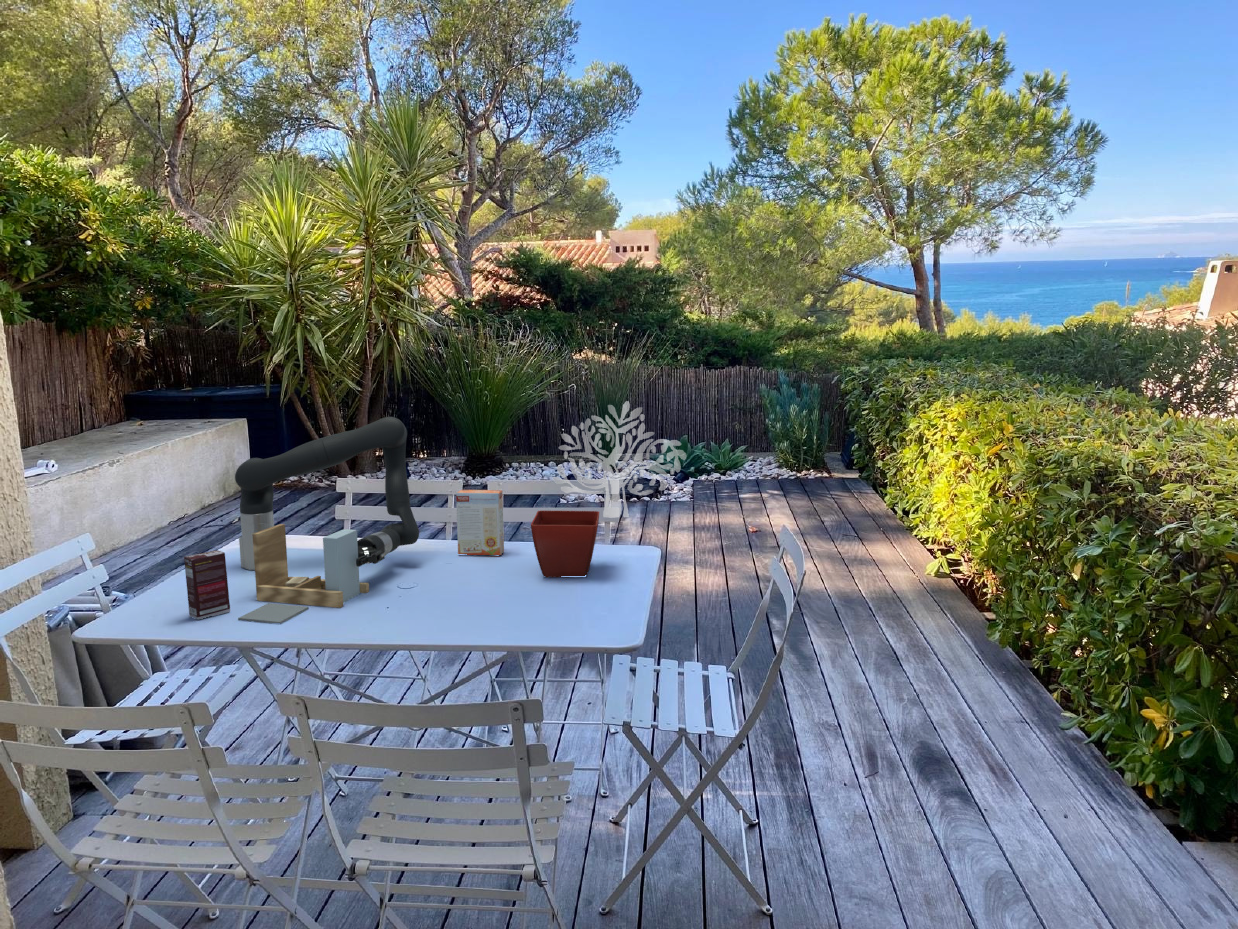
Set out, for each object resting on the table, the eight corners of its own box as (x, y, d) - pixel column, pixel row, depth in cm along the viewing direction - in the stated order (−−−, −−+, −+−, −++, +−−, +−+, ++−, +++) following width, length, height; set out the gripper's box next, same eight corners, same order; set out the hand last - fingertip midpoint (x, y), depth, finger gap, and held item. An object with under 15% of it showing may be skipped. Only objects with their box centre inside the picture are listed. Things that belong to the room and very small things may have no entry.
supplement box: (221, 608, 223) (217, 549, 221) (230, 612, 220) (226, 552, 218) (187, 617, 217) (183, 556, 214) (196, 621, 214) (191, 559, 211)
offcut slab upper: (285, 590, 232) (285, 583, 232) (294, 583, 238) (294, 576, 237) (300, 590, 232) (299, 583, 231) (309, 583, 238) (308, 576, 237)
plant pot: (597, 581, 247) (596, 524, 245) (531, 581, 248) (530, 524, 245) (599, 563, 266) (599, 510, 263) (538, 563, 266) (537, 510, 264)
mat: (238, 620, 214) (238, 618, 214) (268, 605, 226) (268, 603, 226) (280, 624, 211) (280, 622, 211) (308, 609, 223) (308, 606, 223)
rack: (253, 600, 230) (249, 535, 227) (286, 584, 244) (283, 523, 241) (340, 607, 224) (336, 540, 221) (369, 591, 238) (366, 528, 235)
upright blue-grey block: (326, 603, 227) (322, 537, 224) (347, 592, 237) (343, 529, 234) (339, 605, 226) (336, 538, 223) (359, 593, 236) (356, 530, 233)
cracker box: (504, 552, 279) (503, 489, 276) (500, 557, 273) (498, 493, 270) (462, 551, 281) (460, 488, 277) (457, 556, 275) (455, 492, 272)
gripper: (350, 533, 247) (318, 546, 231) (395, 536, 244) (366, 550, 228) (352, 558, 248) (320, 573, 233) (396, 561, 245) (367, 577, 229)
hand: (343, 562), depth 230 cm, fingers open, 8 cm apart
